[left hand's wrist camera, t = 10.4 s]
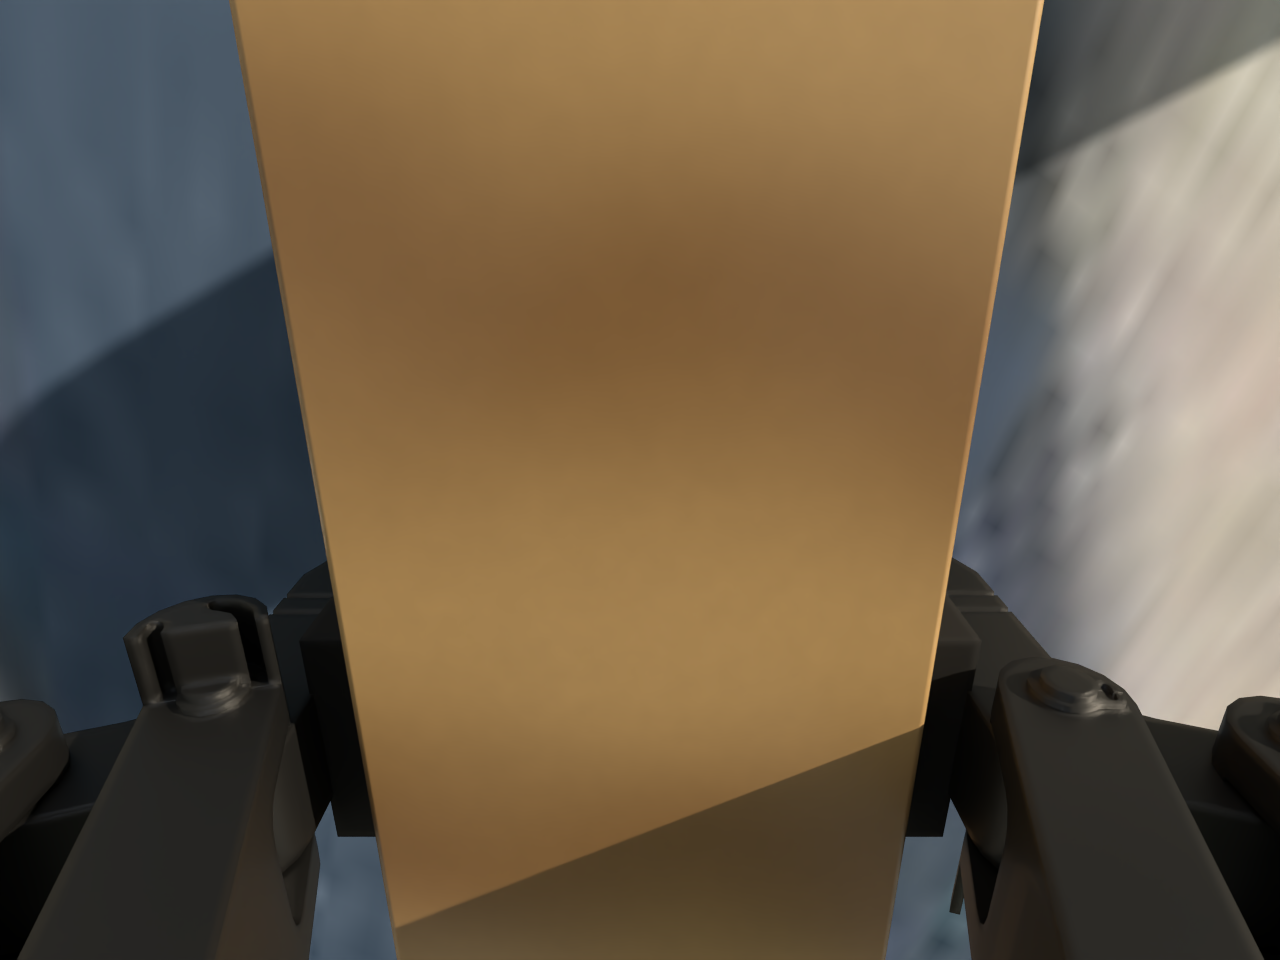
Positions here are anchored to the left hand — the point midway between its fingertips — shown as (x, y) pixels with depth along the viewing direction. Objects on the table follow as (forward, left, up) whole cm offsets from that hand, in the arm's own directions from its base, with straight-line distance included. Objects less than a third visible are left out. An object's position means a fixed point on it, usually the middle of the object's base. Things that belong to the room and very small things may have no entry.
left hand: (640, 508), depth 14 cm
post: (+23, +5, -1) cm, 24 cm away
